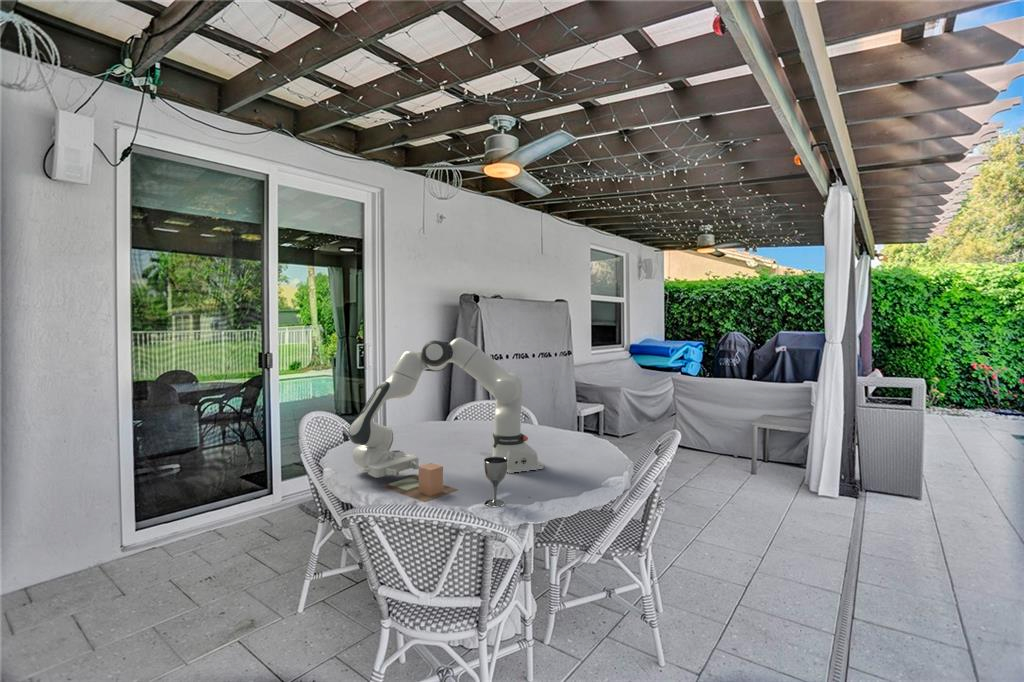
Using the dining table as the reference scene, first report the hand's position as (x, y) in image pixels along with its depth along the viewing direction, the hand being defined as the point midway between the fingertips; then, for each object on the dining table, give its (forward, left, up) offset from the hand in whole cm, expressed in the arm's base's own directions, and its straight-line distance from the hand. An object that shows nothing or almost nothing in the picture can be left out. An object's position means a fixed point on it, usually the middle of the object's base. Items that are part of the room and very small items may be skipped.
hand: (407, 469), depth 189 cm
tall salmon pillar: (-8, +9, -5) cm, 13 cm away
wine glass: (-29, +21, -6) cm, 37 cm away
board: (-4, +5, -6) cm, 9 cm away
